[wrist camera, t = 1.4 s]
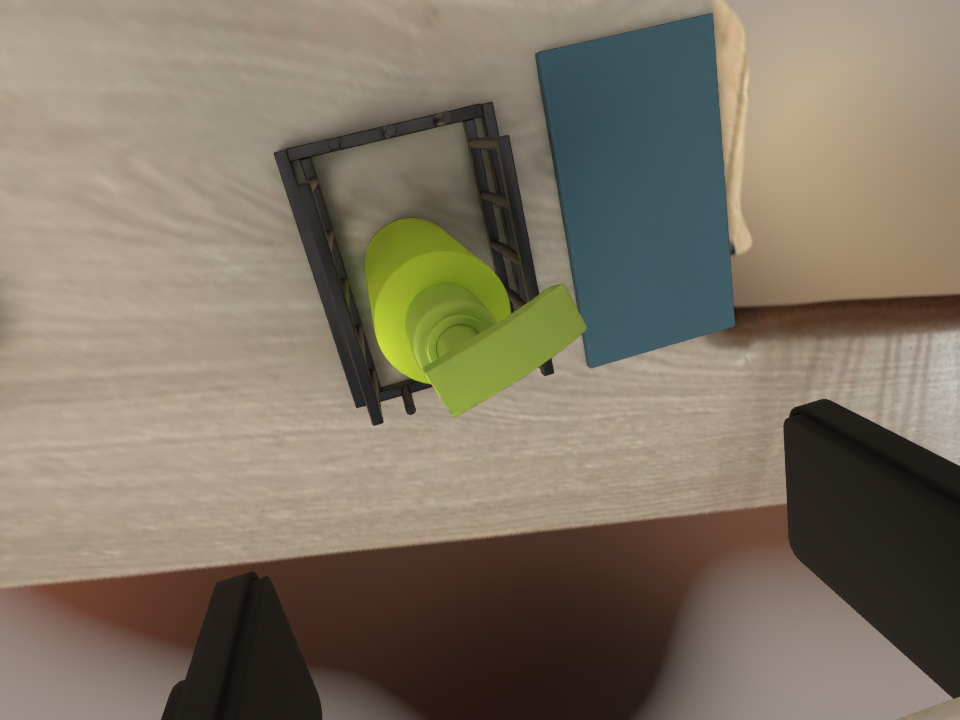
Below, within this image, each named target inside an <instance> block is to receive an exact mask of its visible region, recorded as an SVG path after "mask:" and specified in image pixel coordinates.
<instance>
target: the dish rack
mask: <svg viewBox="0 0 960 720" xmlns="http://www.w3.org/2000/svg"><path fill="white" fill-rule="evenodd" d="M478 117H482V121H483V126H484V131H485V136H486V137H485V138H478V135H477V130H476V125H475V120H474V118H478ZM461 121H463V125H464V130H465V134H466V139H467V144H468V148H469V153H470V158H471V162H472V167H473V172H474V176H475V181H476V186H477V190H478V195H479V200H480V204H481V209H482V214H483V218H484V223H485V228H486V232H487V237H488V242H489V246H490V251H491V256H492V260H493V265H494V270H495V274H496V275H497V276H498V277H499V279H500V280H501V282H502V284H503V286H504V288H505V290H506V292H507V295H508V298H509V303H510V309H511V314H512V313H513V312H514V308H513V304H514V305H515V306H516V307H518V308H521V307H522V306H524V305H525V304H526V303H528V302H529V301H531V300H532V299H533V298H535V297H536V296H537V295H539V291H538V285H537V280H536V275H535V270H534V264H533V259H532V254H531V249H530V243H529V238H528V233H527V228H526V222H525V217H524V212H523V206H522V201H521V196H520V191H519V185H518V180H517V175H516V170H515V164H514V159H513V154H512V149H511V143H510V138H509V135H504V136H499V132H498V127H497V122H496V116H495V111H494V106H493V103H492V102H489V103H485V104H477V105H472V106H468V107H464V108H459V109H455V110H451V111H446V112H442V113H438V114H434V115H429V116H425V117H421V118H417V119H412V120H408V121H404V122H399V123H395V124H390V125H387V126H382V127H378V128H374V129H369V130H365V131H361V132H356V133H352V134H348V135H344V136H339V137H335V138H331V139H326V140H322V141H318V142H314V143H309V144H305V145H301V146H296V147H292V148H288V149H286V150H284V151H279V152H275V153H274V156H275V159H276V162H277V165H278V168H279V171H280V174H281V177H282V181H283V184H284V187H285V190H286V193H287V196H288V199H289V202H290V205H291V208H292V211H293V214H294V218H295V221H296V224H297V227H298V230H299V233H300V236H301V239H302V242H303V245H304V248H305V251H306V255H307V258H308V261H309V264H310V267H311V270H312V273H313V276H314V279H315V282H316V285H317V288H318V292H319V295H320V298H321V301H322V304H323V307H324V310H325V313H326V316H327V319H328V322H329V325H330V329H331V332H332V335H333V338H334V341H335V344H336V347H337V350H338V353H339V356H340V359H341V362H342V366H343V369H344V372H345V375H346V378H347V381H348V384H349V387H350V390H351V393H352V396H353V399H354V403H355V406H356V408H359V407H362V406H367V409H368V412H369V415H370V418H371V422H372V425H373V426H375V425H378V424H382V423H383V422H384V421H383V416H382V411H381V404H380V402H382V401H385V400H389V399H392V398H396V397H399V396H402V397H403V401H404V405H405V410H406V413H407V414H409V415H412V414H414V413H415V411H416V408H415V405H414V401H413V397H412V394H411V393H413V392H417V391H420V390H424V389H427V388H431V387H433V386H432V385H431V384H427V383H423V382H419V381H416V380H414V379H412V380H408V381H405V382H401V383H398V384H394V385H391V386H387V387H383V388H381V386H380V383H379V380H378V376H377V373H376V370H375V366H374V363H373V360H372V357H371V353H370V350H369V347H368V343H367V340H366V337H365V334H364V330H363V327H362V324H361V320H360V317H359V314H358V311H357V307H356V304H355V301H354V297H353V294H352V291H351V288H350V284H349V281H348V278H347V274H346V271H345V268H344V265H343V261H342V258H341V255H340V251H339V248H338V245H337V242H336V238H335V235H334V232H333V228H332V225H331V222H330V219H329V215H328V212H327V209H326V205H325V202H324V199H323V195H322V192H321V189H320V186H319V182H318V179H317V176H316V172H315V169H314V166H313V163H312V159H311V157H313V156H317V155H321V154H326V153H330V152H334V151H338V150H343V149H347V148H351V147H355V146H360V145H364V144H368V143H372V142H377V141H381V140H385V139H389V138H394V137H398V136H402V135H406V134H410V133H415V132H419V131H423V130H427V129H432V128H436V127H440V126H444V125H449V124H453V123H457V122H461ZM481 149H488V151H489V156H490V161H491V166H492V171H493V176H494V180H495V185H496V190H497V193H494V192H491V191H489V188H488V183H487V178H486V173H485V169H484V164H483V159H482V154H481ZM300 159H301V160H300ZM296 160H300V162H301V165H302V168H303V171H304V175H305V178H306V181H305V182H304V183H303V184H301V185H298V183H297V180H296V177H295V174H294V170H293V167H292V164H291V162H292V161H296ZM492 203H493V204H496V205H498V206H500V210H501V215H502V220H503V225H504V230H505V235H506V239H507V244H508V245H506V244H505V243H503V242H501V241H499V236H498V231H497V226H496V222H495V217H494V212H493V207H492ZM502 254H503V255H504V256H506V257H507V258H509V259H510V260H511V264H512V269H513V274H514V279H515V284H516V289H517V293H516V292H515V291H513V290H512V289H511V288H510V287H509V284H508V279H507V275H506V270H505V265H504V260H503V255H502ZM512 303H513V304H512ZM539 368H540V370H541V373H542V374H543V375H544V376H547V375H550V374H553V373H554V370H553V364H552V359H549V360H548V361H546V362H545V363H544V364H542V365H541V366H539Z"/></svg>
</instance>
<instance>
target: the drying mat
mask: <svg viewBox="0 0 960 720" xmlns="http://www.w3.org/2000/svg"><path fill="white" fill-rule="evenodd" d="M536 61H537V67H538V73H539V79H540V85H541V91H542V97H543V103H544V109H545V115H546V121H547V127H548V133H549V139H550V145H551V151H552V157H553V163H554V169H555V175H556V181H557V187H558V193H559V199H560V205H561V210H562V216H563V222H564V228H565V234H566V240H567V246H568V252H569V258H570V264H571V270H572V276H573V282H574V288H575V294H576V300H577V306H578V311H579V313H580V315H581V317H582V319H583V320H584V322H585V324H586V327H587V329H586V331H585V332H583V333H582V336H583V342H584V348H585V354H586V359H587V365H588V367H590V368H594V367H597V366H601V365H604V364H607V363H611V362H614V361H618V360H621V359H624V358H628V357H631V356H635V355H638V354H642V353H645V352H648V351H652V350H655V349H659V348H662V347H665V346H669V345H672V344H676V343H679V342H683V341H686V340H689V339H693V338H696V337H700V336H703V335H707V334H710V333H713V332H717V331H720V330H724V329H727V328H730V327H734V326H735V317H734V303H733V290H732V276H731V261H730V247H729V233H728V219H727V205H726V191H725V177H724V163H723V149H722V135H721V121H720V107H719V94H718V80H717V66H716V52H715V38H714V24H713V14H712V13H711V14H707V15H702V16H698V17H693V18H689V19H684V20H680V21H675V22H671V23H667V24H662V25H658V26H653V27H649V28H644V29H640V30H636V31H631V32H627V33H622V34H618V35H613V36H609V37H605V38H600V39H596V40H591V41H587V42H582V43H578V44H573V45H569V46H565V47H560V48H556V49H551V50H547V51H542V52H538V53H536Z"/></svg>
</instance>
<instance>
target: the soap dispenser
mask: <svg viewBox="0 0 960 720" xmlns="http://www.w3.org/2000/svg"><path fill="white" fill-rule="evenodd" d="M364 270H365V276H366V282H367V288H368V294H369V300H370V306H371V312H372V318H373V324H374V330H375V335H376V339H377V342H378V344H379V347H380V349H381V351H382V352H383V354H384V356H385V357H386V358H387V360H388V361H389V362H390V363H391V364H392V365H393V366H394V367H395V368H396V369H397V370H398V371H400V372H401V373H402V374H404V375H406V376H407V377H409V378H411V379H414V380H416V381H419V382H423V383H427V384H431V385H432V386H433V388H434V389H435V391H436V392H437V394H438V395H439V397H440V398H441V400H442V401H443V402H444V404H445V405H446V407H447V408H448V410H449V411H450V413H451V414H452V416H453V417H454V418H455V417H456V416H458V415H460V414H462V413H464V412H465V411H467V410H469V409H471V408H472V407H474V406H476V405H477V404H479V403H481V402H483V401H484V400H486V399H488V398H490V397H491V396H493V395H495V394H496V393H498V392H500V391H501V390H503V389H505V388H506V387H508V386H510V385H511V384H513V383H515V382H516V381H518V380H519V379H521V378H523V377H524V376H526V375H527V374H529V373H530V372H532V371H533V370H535V369H536V368H538V367H539V366H541V365H542V364H544V363H545V362H546V361H548V360H549V359H551V358H552V357H553V356H555V355H556V354H557V353H559V352H560V351H561V350H563V349H564V348H565V347H566V346H568V345H569V344H570V343H571V342H573V341H574V340H575V339H576V338H578V337H579V336H580V335H581V334H582V333H583V332H585V331H586V329H587V327H586V324H585V322H584V320H583V319H582V317H581V315H580V313H579V311H578V309H577V307H576V305H575V303H574V301H573V300H572V298H571V296H570V294H569V292H568V290H567V288H566V287H565V285H564V284H558V285H555V286H551V287H549V288H547V289H546V290H544V291H543V292H542V293H540V294H539V295H537V296H536V297H535V298H533V299H532V300H531V301H529V302H528V303H526V304H525V305H524V306H522V307H521V308H519V309H518V310H516V311H515V312H513V313H512V314H511V309H510V303H509V298H508V295H507V292H506V290H505V288H504V286H503V284H502V282H501V280H500V279H499V277H498V276H497V275H496V274H495V272H494V271H493V270H492V269H491V268H490V267H488V266H487V265H486V264H485V263H484V262H482V261H481V260H480V259H479V258H477V257H476V256H475V255H474V254H473V253H471V252H470V251H469V250H468V249H466V248H465V247H464V246H463V245H461V244H460V243H459V242H458V241H456V240H455V239H454V238H453V237H452V236H450V235H449V234H448V233H447V232H445V231H444V230H443V229H442V228H440V227H439V226H437V225H436V224H434V223H432V222H430V221H427V220H424V219H418V218H405V219H400V220H397V221H394V222H392V223H390V224H388V225H386V226H385V227H383V228H382V229H381V230H380V231H379V232H378V233H377V234H376V235H375V236H374V237H373V239H372V240H371V242H370V244H369V246H368V248H367V251H366V255H365V261H364Z"/></svg>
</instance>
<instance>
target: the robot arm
mask: <svg viewBox="0 0 960 720" xmlns="http://www.w3.org/2000/svg"><path fill="white" fill-rule="evenodd" d="M784 448H785V470H786V491H787V512H788V534H789V543H790V546H791V548H792V550H793V552H794V554H795V555H796V557H797V558H798V559H799V560H800V561H801V562H802V563H803V564H804V565H805V566H806V567H808V568H809V569H810V570H811V571H812V572H813V573H814V574H816V576H818V577H819V578H820V579H821V580H822V581H823V582H824V583H825V584H826V585H828V586H829V587H830V588H831V589H832V590H833V591H834V592H835V593H837V594H838V595H839V596H840V597H841V598H842V599H843V600H844V601H845V602H847V603H848V604H849V605H850V606H851V607H852V608H853V609H854V610H856V611H857V612H858V613H859V614H860V615H861V616H862V617H863V618H864V619H866V621H868V622H869V623H870V624H871V625H872V626H873V627H874V628H876V629H877V630H878V631H879V632H880V633H881V634H882V635H883V636H884V637H885V638H887V639H888V640H889V641H890V642H891V643H892V644H893V645H894V646H896V647H897V648H898V649H899V650H900V651H901V652H902V653H903V654H904V655H905V656H907V657H908V658H909V659H910V660H911V661H912V662H913V663H914V664H915V665H917V666H918V667H919V668H920V669H921V670H922V671H923V672H924V673H925V674H927V675H928V676H929V677H930V678H931V679H932V680H933V681H934V682H936V683H937V684H938V685H939V686H940V687H941V688H942V689H943V690H944V691H945V692H947V693H948V694H949V695H950V696H951V697H952V698H953V699H952V700H949V701H947V702H944V703H941V704H939V705H936V706H933V707H931V708H928V709H925V710H922V711H920V712H917V713H914V714H911V715H908V716H906V717H903V718H900V719H898V720H960V466H958V465H956V464H954V463H953V462H951V461H949V460H947V459H945V458H943V457H941V456H939V455H937V454H935V453H933V452H931V451H929V450H927V449H925V448H923V447H921V446H919V445H917V444H915V443H913V442H911V441H909V440H907V439H905V438H903V437H901V436H899V435H897V434H895V433H893V432H892V431H890V430H888V429H886V428H884V427H882V426H880V425H878V424H876V423H874V422H872V421H870V420H868V419H866V418H864V417H862V416H860V415H858V414H856V413H854V412H852V411H850V410H848V409H846V408H844V407H842V406H840V405H838V404H836V403H834V402H832V401H830V400H827V399H821V400H818V401H814V402H811V403H808V404H805V405H801V406H798V407H795V408H793V409H792V410H791V412H790V415H789V418H787V419H786V420H785V422H784ZM161 720H322V708H321V703H320V698H319V695H318V692H317V690H316V687H315V685H314V683H313V680H312V678H311V675H310V673H309V670H308V668H307V666H306V663H305V661H304V659H303V656H302V653H301V651H300V649H299V646H298V644H297V641H296V639H295V637H294V634H293V632H292V629H291V627H290V624H289V622H288V620H287V617H286V615H285V612H284V610H283V607H282V605H281V603H280V600H279V598H278V595H277V593H276V591H275V588H274V586H273V583H272V581H271V580H270V578H269V577H267V576H266V577H263V578H259V577H258V575H257V574H256V573H255V572H252V571H251V572H248V573H245V574H242V575H238V576H235V577H232V578H229V579H225V580H222V581H219V582H217V583H216V585H215V587H214V591H213V594H212V597H211V600H210V603H209V607H208V609H207V613H206V616H205V619H204V622H203V625H202V628H201V632H200V635H199V638H198V641H197V644H196V647H195V650H194V654H193V657H192V660H191V663H190V666H189V669H188V673H187V676H186V679H185V680H183V681H180V682H178V683H177V684H176V685H175V686H174V687H173V689H172V691H171V693H170V695H169V698H168V701H167V704H166V707H165V710H164V713H163V716H162V719H161Z"/></svg>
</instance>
